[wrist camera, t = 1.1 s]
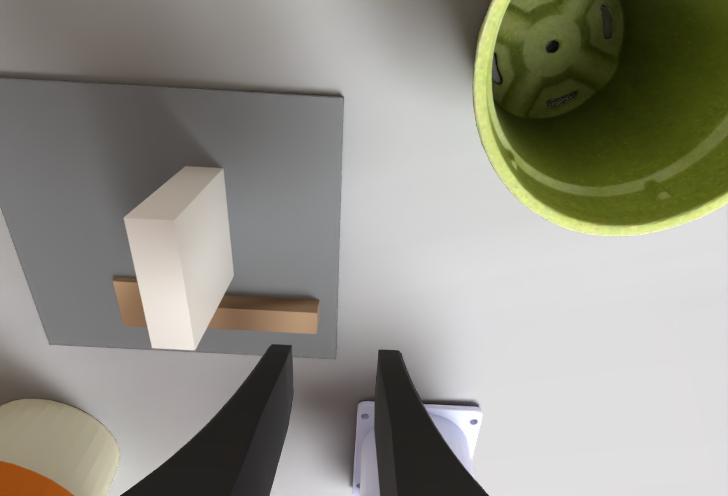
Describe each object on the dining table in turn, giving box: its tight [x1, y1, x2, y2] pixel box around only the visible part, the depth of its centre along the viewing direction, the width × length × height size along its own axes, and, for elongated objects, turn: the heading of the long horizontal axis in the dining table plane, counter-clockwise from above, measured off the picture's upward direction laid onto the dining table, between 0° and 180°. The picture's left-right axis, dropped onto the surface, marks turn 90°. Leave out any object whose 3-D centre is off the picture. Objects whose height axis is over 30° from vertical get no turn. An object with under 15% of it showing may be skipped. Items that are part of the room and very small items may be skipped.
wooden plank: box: [113, 277, 319, 334], centre depth 24 cm, size 11×3×1 cm, turn 87°
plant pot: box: [473, 0, 728, 236], centre depth 15 cm, size 9×9×9 cm
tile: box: [124, 166, 234, 350], centre depth 20 cm, size 6×2×6 cm, turn 177°
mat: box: [0, 77, 344, 359], centre depth 23 cm, size 15×17×1 cm
